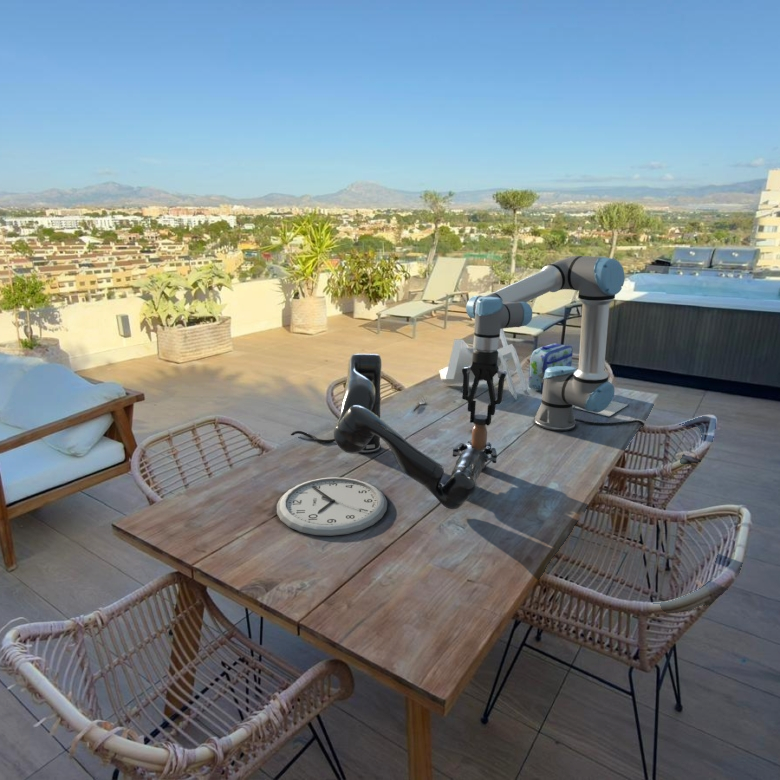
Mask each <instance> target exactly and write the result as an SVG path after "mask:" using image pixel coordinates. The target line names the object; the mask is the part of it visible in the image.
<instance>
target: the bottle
mask: <svg viewBox="0 0 780 780" xmlns="http://www.w3.org/2000/svg"><path fill="white" fill-rule="evenodd" d="M470 440H471V447H472V448H475V449H481V448H482V447H484V448H485V447H486V444H487V441H488V428H487V424H486V425H477V424H474V426H473V427H472V430H471V439H470ZM485 467H486V463H485V464H484V466H483V468H482V470H484V469H485Z"/></svg>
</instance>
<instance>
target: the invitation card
mask: <svg viewBox="0 0 780 780" xmlns="http://www.w3.org/2000/svg"><path fill="white" fill-rule="evenodd" d="M628 406H629V404H627V403H623V402H618V401H614V400H612V401H611V403H610V404H609V405H608V407H607V408H605V409H604V410H603V411H601V412H592V411H587V410H585V409H582V408H580V407H577V406H574V407H573V409H575V410H581V411H584V412H587V413H593V414H596V415H600V416H604V417H608V418H609V417H611V416H613V415H614V414H616V413H617V412H619V411H621V410H623V409H624V408H626V407H628Z"/></svg>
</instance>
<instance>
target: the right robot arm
mask: <svg viewBox="0 0 780 780" xmlns="http://www.w3.org/2000/svg"><path fill="white" fill-rule="evenodd" d="M625 276H626V275H625V270H624V266H623V264H621V262H620V261H619V260H618V259H615V258H611V257H606V256H586V255H584V256H583V255H573V256H569V257H566V258H563V259H560V260H557V261H555V262H552V263H550V264H547V265H545V266H543V267H542V269H541V271H538V272H537V273H535V274H532V275H530V276H527V277H525V278H523V279H521V280H519V281H517V282H514V283H512V284H509V285H507V286H505V287H503V288H500V289H498V290H496V291H494V292H491V293H489V294H487V295H484V296H482V295H474V296H471V297H470V298H469V299H468V301H467V302H466V305H465V310H466V311H465V312H466V314H467V316H468V317H469V318H470V319H473V320H474V330H473V331H474V332H473V343H472V347H473V348H474V350H473V358H472V364H471V366H470V367H464V368H463V369H462V373H463V383H462V394H461V396H462V397H461V398H462V400H465V401H466V402H467V412H469V413H470V416H469V423H471V424H474V423H473V416H474V415H476V405H477V401H476V400H475V395H476V394H477V391H478V390H477V389H478V386H479V383H480V382H481V381H480V380H482V381H485V382H486V385H487V391H488V397H489V403H488V405H487V413H486V416H487V424H486V426H490V425H491V424H492V416H494V415H495V413H496V405H500V404H501V403H503V397H504V386H505V380H506V375H507V372H505V371H504V370H503V371H502V370H501V369H500V368H499V367H498V365H497V363H498V351H497V350H498V349H500V339H501V338H500V329H503V330H504V329H512V328H521V327H525V326H527V325H529V324H530V323H531V321H532V320H533V309H532V307H531V305H530V303H528V302H530V301H532V300H535V299H537V298H539V297H540V296H543V295H545V294H547V293H549V292H550V293H557V292H558V291H563V290H571V291H577V292H578V294H577V298H578V300H579V301H580V302H581V304H582V306H581V307H582V308H581V322H580V323H581V324H580V337H579V355H578V368H577V367H575V366H571V367H570V366H555V367H549V368H547V369H546V370H545V375H544V378H543V379H544V380H543V391H541V402H540V405H539V407H538V410H537V411H536V413H535V417H534V424H535V425H536V426H537V427H539V428H542V429H544V430H549V431H556V432H567V431H572V430H574V429H575V428H576V422H578V423H582V424H587V425H594V426H595V425H597V426H615V425H624V424H625V425H627V424H635V423H639V424H640V425H643V426H645V423H644V422H643V421H641V420H639V419H633V420H628V421H625V420H624V421H615V422H594V421H587V420H584V419H583V420H582V419H578V418H575V417H576V416H575V413H574V407H576V406H577V407H580V408H582V409H585V410H587V411H586V412H588V411H592V412H601V411H603V410H604V409H605V408H607V407H608V405H609V404H610V403H611V401H613V398H614V396H615V391H616V389H615V386H614V384H613V383H611V381H609V373H608V372H607V371H606V370H605V365H606V364H605V363H606V352H607V338H608V325H609V314H610V304H611V303H612V302H613V301H614V300H615V298H616V295H618V294H619V293H620V292H621V291H622V289H623V288H622V287H624V284H625ZM470 371H472V372H473V374H474V376H475V378H474V382H472V385H471V389H470V382H469V373H470ZM496 375H497V378H498V382H497V383H498V384H497V393H496V391H495V384H494V377H495V376H496ZM479 381H480V382H479ZM469 389H470V392H469ZM573 406H574V407H573ZM592 412H591V413H592Z"/></svg>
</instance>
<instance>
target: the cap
mask: <svg viewBox="0 0 780 780" xmlns="http://www.w3.org/2000/svg"><path fill="white" fill-rule="evenodd" d="M472 424H474V425H475V424H477V425H486V426H487V414H482V413H481V414H479V413H477V414H475V415H474V416H473V423H472Z"/></svg>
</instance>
